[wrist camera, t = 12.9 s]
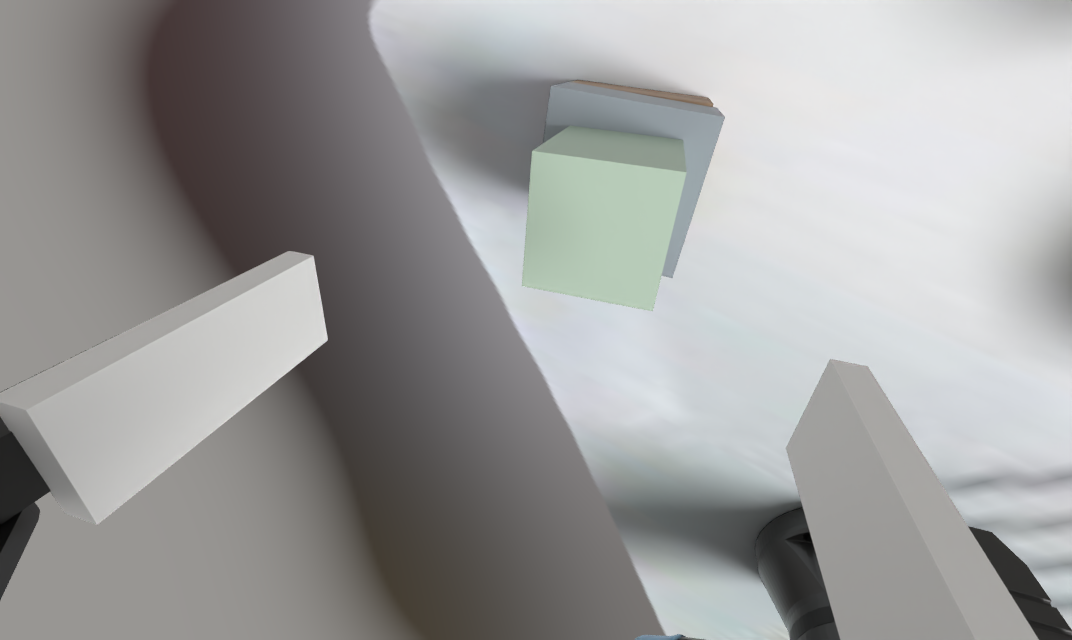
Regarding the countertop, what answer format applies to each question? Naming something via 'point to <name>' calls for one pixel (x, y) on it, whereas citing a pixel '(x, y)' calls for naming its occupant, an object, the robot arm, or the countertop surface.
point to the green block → (602, 214)
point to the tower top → (644, 118)
